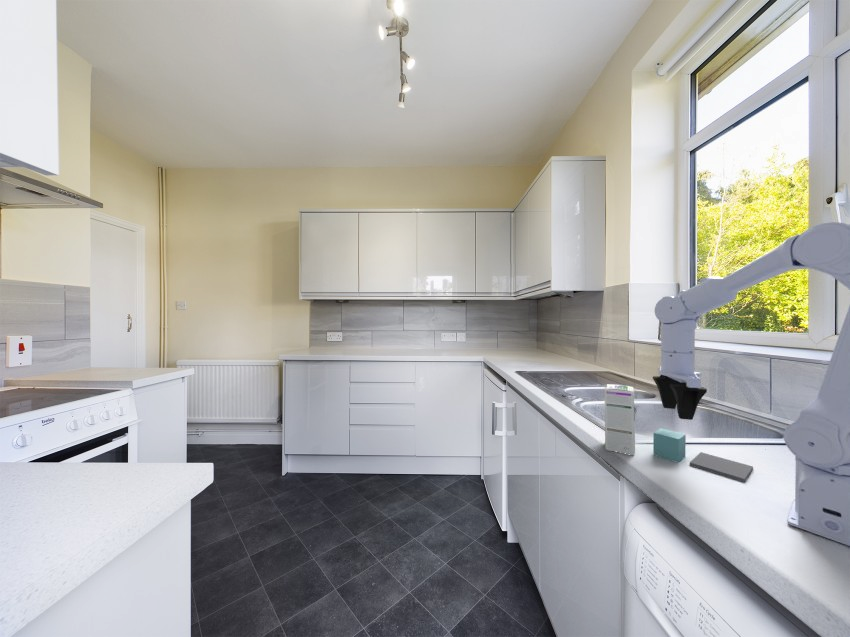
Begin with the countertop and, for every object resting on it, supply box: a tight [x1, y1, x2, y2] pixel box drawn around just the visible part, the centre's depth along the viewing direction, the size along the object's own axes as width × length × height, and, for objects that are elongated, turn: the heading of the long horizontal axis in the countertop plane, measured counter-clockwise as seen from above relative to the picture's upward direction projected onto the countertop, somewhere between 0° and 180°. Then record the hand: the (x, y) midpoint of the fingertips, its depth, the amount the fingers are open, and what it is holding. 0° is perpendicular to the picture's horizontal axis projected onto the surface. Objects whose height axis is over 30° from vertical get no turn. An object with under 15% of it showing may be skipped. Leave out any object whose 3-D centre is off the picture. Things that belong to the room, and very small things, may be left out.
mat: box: [689, 451, 754, 483], centre depth 63 cm, size 8×8×1 cm
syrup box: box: [604, 383, 636, 456], centre depth 71 cm, size 6×6×14 cm
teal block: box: [652, 427, 687, 463], centre depth 68 cm, size 4×4×5 cm
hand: (677, 413), depth 68 cm, fingers open, 7 cm apart
